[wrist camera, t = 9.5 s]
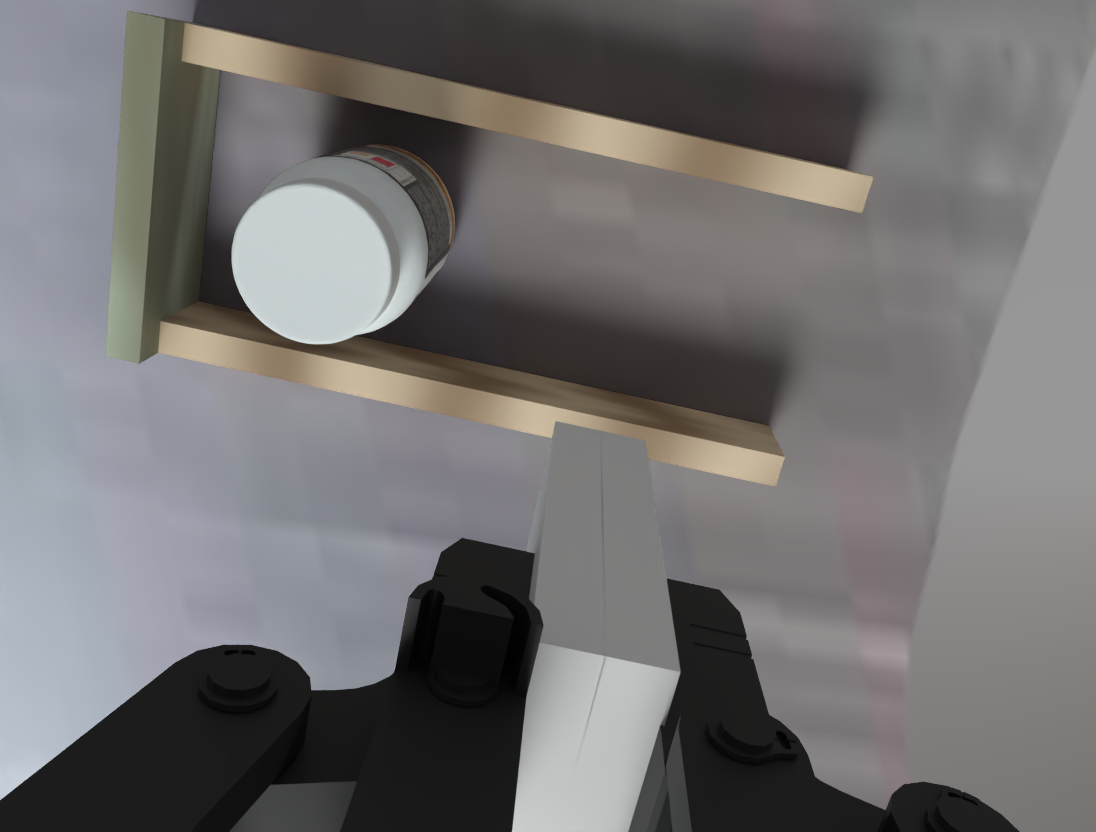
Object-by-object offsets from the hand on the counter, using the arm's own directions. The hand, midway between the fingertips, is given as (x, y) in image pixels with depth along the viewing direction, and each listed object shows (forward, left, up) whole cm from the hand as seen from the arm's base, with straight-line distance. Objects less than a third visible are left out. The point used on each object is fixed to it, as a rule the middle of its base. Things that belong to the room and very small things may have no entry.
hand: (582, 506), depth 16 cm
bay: (-4, 0, -22) cm, 22 cm away
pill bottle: (-8, 0, -22) cm, 24 cm away
